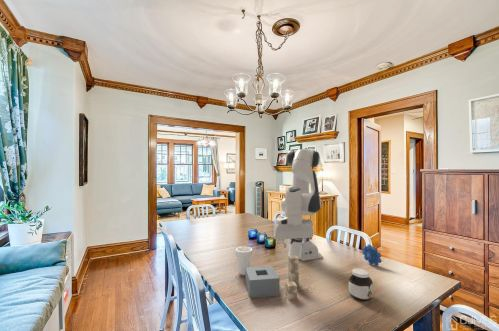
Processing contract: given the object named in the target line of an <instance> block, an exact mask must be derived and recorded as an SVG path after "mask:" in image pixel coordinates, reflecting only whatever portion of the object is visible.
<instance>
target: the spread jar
mask: <svg viewBox="0 0 499 331" xmlns="http://www.w3.org/2000/svg"><path fill="white" fill-rule="evenodd" d="M369 275H370V272H369V271H368V270H366V269H364V268H358V267H357V268H352V274H351V275H350V277H349V278H348V292H349V295H350V296H351V297H353V298H354V299H355V300H357V301H360V302H368V301H369V300H370V299H371V298H372V297H373V295H374V283H373V280H372V278H371V277H370V276H369Z"/></svg>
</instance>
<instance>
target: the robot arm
mask: <svg viewBox="0 0 499 331" xmlns="http://www.w3.org/2000/svg"><path fill="white" fill-rule="evenodd" d="M285 159H286V163H287V164H288V165H290V166H291V172H292V174H293V176H292V177H293V178H292V185H291V187H288V188H286V190H285V197H284V198H283V199H282V200H281V201H280V202H281V203H280V207H281V209H282V211H283V212H284V215H282V216H279V217H277V218H276V219H275V222H276V223H274V227H273V237H274V239H276V240H280V242H281V244H282V247H283V249H284V248H287V243H285V240H289V248H288V253H287V255H288V256H291V255H296V256H297V257H298V258H299V261H303V262H304V261H305V262H306V261H311V260H317V259H322V258H323V254H322V253H321V252H319V248H318V246H317V245H316V244H315V243H313V241H311V240H313V237H314V228H313V227H314V222H313V220H311V219H309V218H307V219H305V218H304V219H303V216H313V215H315V214H316V213H317V212H318V211H320V210H321V208H322V199H321V196H320V192H319V184H318V178H317V173H316V171H315V170H313V169H314V168H316V167H318V165H319V163H320V162H321V155H320V153H319V152H318V151H315V150H309V149H308V150H307V149H305V148H300V149H290V150H288V151H287V153H286V157H285ZM310 191H311V192H310Z"/></svg>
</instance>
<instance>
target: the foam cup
mask: <svg viewBox="0 0 499 331" xmlns="http://www.w3.org/2000/svg"><path fill="white" fill-rule="evenodd" d="M235 257H236V263H237V271H238V274H239V275H243V276H245V268H248V267H251V264H252V257H253V248H252V247H250V246H239V247H236V248H235Z"/></svg>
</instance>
